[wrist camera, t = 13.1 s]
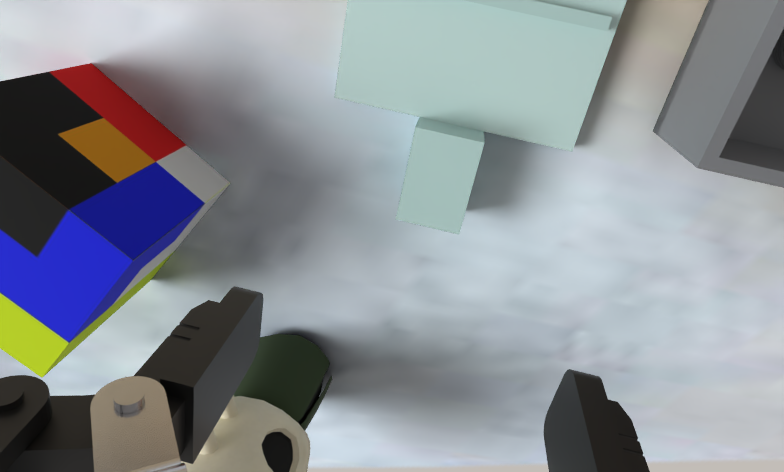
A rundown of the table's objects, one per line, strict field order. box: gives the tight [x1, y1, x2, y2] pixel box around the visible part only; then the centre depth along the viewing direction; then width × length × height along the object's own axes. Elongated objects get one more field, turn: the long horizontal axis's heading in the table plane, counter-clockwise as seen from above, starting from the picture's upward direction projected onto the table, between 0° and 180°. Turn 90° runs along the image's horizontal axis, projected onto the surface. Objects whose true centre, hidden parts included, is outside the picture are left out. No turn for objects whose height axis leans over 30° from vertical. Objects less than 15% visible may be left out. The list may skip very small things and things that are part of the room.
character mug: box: [181, 334, 332, 472], centre depth 31 cm, size 11×7×13 cm, turn 6°
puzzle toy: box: [0, 63, 230, 377], centre depth 28 cm, size 10×10×10 cm
